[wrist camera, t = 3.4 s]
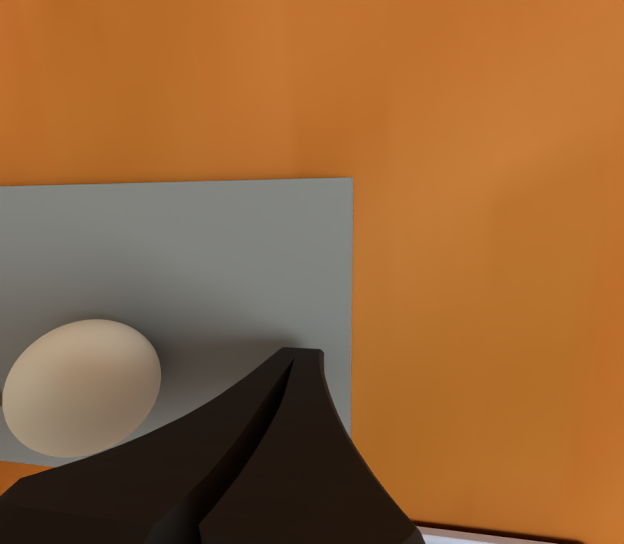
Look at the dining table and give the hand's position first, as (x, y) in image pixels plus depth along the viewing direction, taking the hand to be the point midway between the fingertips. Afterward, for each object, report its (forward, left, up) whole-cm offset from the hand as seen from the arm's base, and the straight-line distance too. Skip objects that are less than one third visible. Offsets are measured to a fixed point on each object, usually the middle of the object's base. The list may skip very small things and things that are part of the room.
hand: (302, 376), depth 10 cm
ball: (0, +6, +1) cm, 7 cm away
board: (0, +11, -2) cm, 12 cm away
